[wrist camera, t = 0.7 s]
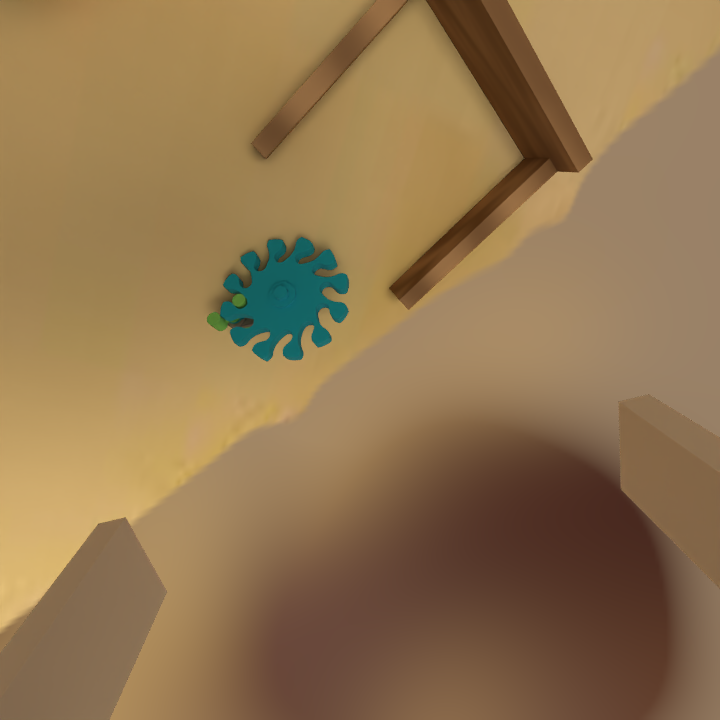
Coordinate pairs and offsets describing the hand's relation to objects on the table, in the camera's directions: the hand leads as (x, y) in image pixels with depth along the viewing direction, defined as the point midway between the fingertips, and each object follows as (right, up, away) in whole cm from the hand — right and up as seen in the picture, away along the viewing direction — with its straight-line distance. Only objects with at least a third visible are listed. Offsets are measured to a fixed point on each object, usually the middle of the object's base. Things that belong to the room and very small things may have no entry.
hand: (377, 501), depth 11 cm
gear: (-7, +10, +24) cm, 27 cm away
